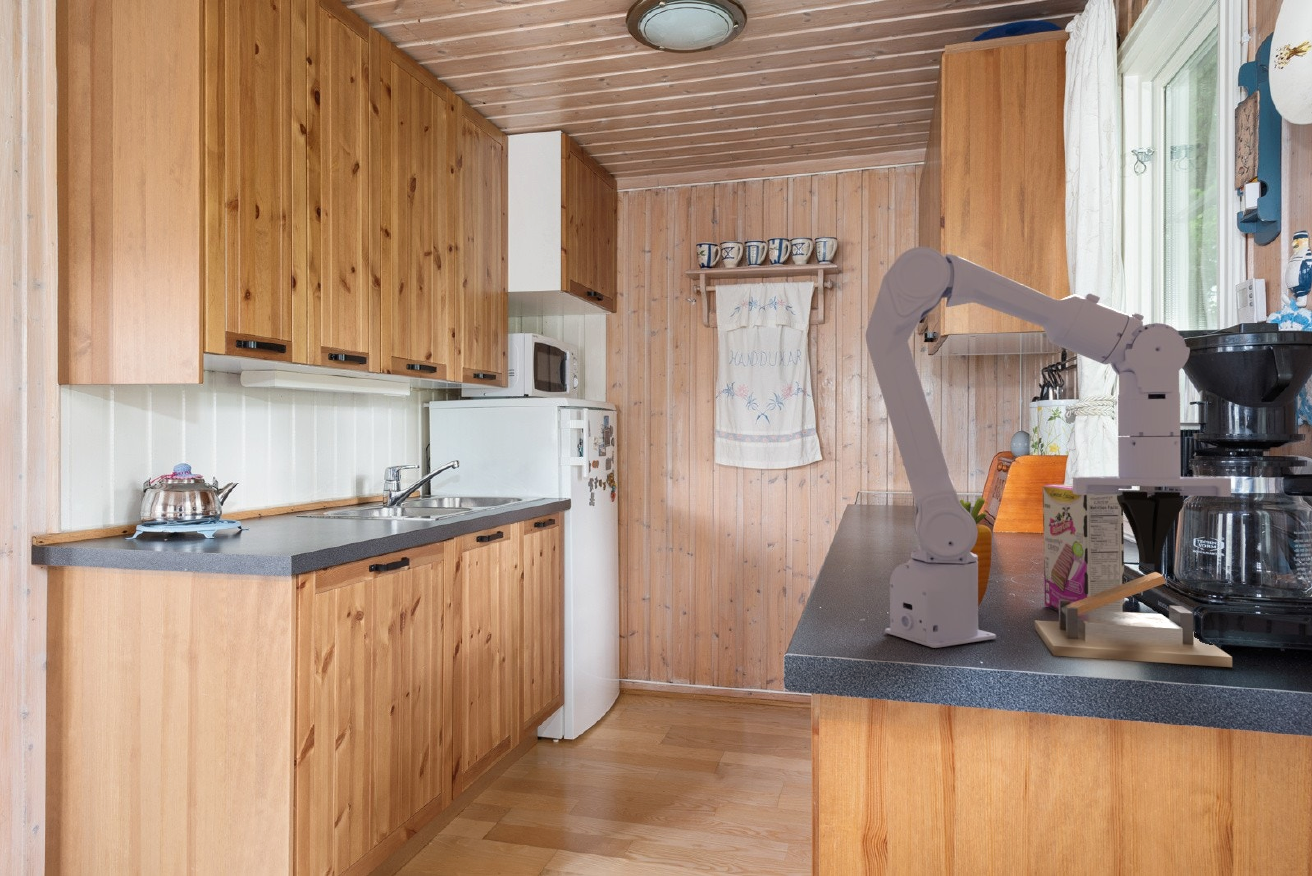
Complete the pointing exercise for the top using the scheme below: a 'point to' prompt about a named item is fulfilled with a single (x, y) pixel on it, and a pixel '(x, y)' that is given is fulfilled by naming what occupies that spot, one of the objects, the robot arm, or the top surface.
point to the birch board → (1130, 649)
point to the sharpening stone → (1129, 627)
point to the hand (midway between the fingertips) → (1149, 562)
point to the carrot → (981, 546)
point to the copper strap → (1117, 593)
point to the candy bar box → (1081, 546)
